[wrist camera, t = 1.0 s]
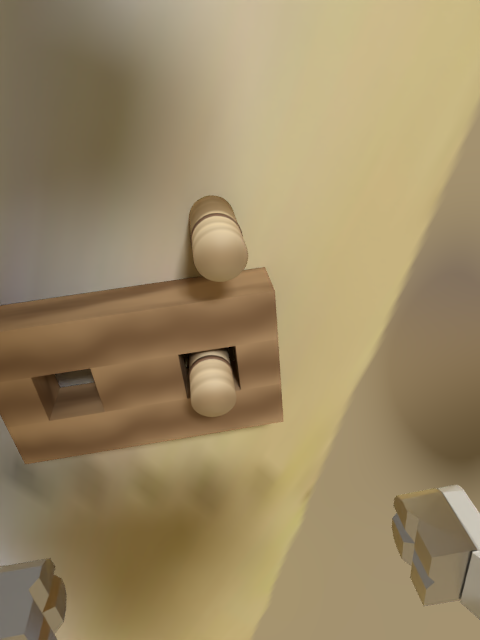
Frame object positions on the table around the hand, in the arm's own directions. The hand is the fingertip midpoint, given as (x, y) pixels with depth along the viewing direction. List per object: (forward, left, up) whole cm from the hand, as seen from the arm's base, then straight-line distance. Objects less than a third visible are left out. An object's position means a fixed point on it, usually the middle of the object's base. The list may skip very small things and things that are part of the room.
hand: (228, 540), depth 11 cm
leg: (+2, +1, -29) cm, 29 cm away
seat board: (+14, -7, -29) cm, 33 cm away
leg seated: (+14, -1, -29) cm, 33 cm away
